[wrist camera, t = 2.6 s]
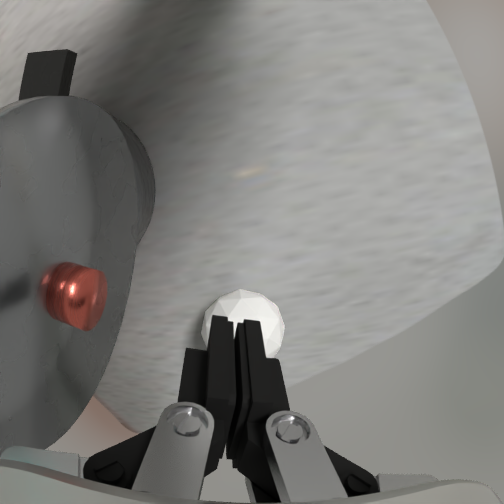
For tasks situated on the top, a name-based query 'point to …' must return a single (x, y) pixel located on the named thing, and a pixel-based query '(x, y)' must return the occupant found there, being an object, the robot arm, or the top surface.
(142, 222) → the pot
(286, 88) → the top surface
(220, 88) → the top surface
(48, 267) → the lid
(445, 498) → the robot arm
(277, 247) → the top surface
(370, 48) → the top surface
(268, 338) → the geometric ball
